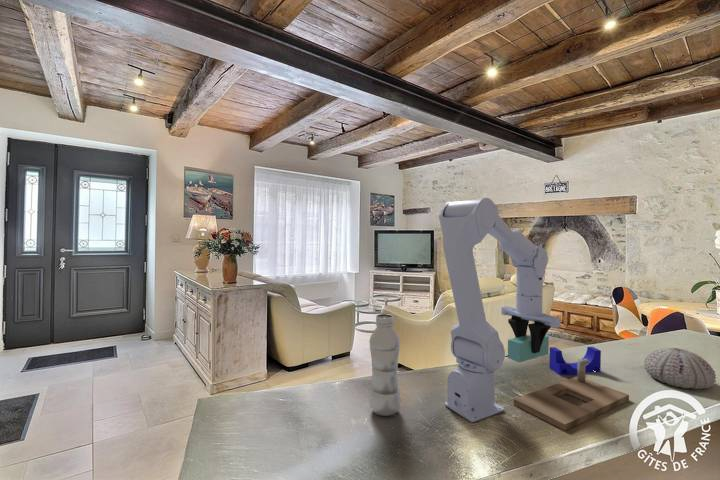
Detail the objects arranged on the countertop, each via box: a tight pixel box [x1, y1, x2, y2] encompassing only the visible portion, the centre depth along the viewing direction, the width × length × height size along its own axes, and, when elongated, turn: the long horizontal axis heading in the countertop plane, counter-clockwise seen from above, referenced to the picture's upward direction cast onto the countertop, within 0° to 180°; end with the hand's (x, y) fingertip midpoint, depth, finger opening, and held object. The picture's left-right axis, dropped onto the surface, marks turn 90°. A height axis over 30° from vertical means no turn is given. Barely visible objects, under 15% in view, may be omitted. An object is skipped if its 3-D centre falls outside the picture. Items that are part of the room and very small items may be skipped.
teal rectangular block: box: [507, 334, 550, 363], centre depth 83 cm, size 11×3×4 cm, turn 119°
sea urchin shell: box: [643, 347, 717, 390], centre depth 85 cm, size 13×14×8 cm
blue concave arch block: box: [548, 346, 602, 376], centre depth 91 cm, size 12×4×6 cm, turn 91°
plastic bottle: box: [369, 313, 401, 417], centre depth 71 cm, size 6×7×20 cm
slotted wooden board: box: [513, 358, 630, 431], centre depth 75 cm, size 25×11×6 cm, turn 119°
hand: (528, 349), depth 83 cm, fingers closed on teal rectangular block, 3 cm apart
